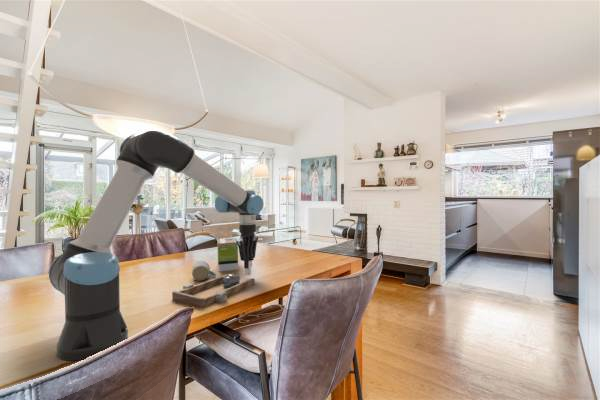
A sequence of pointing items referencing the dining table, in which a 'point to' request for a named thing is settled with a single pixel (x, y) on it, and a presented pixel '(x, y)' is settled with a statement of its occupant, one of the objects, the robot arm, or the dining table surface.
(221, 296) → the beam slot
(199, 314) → the dining table surface
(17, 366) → the dining table surface
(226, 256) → the tea box
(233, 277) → the rider
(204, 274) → the ceramic mug
